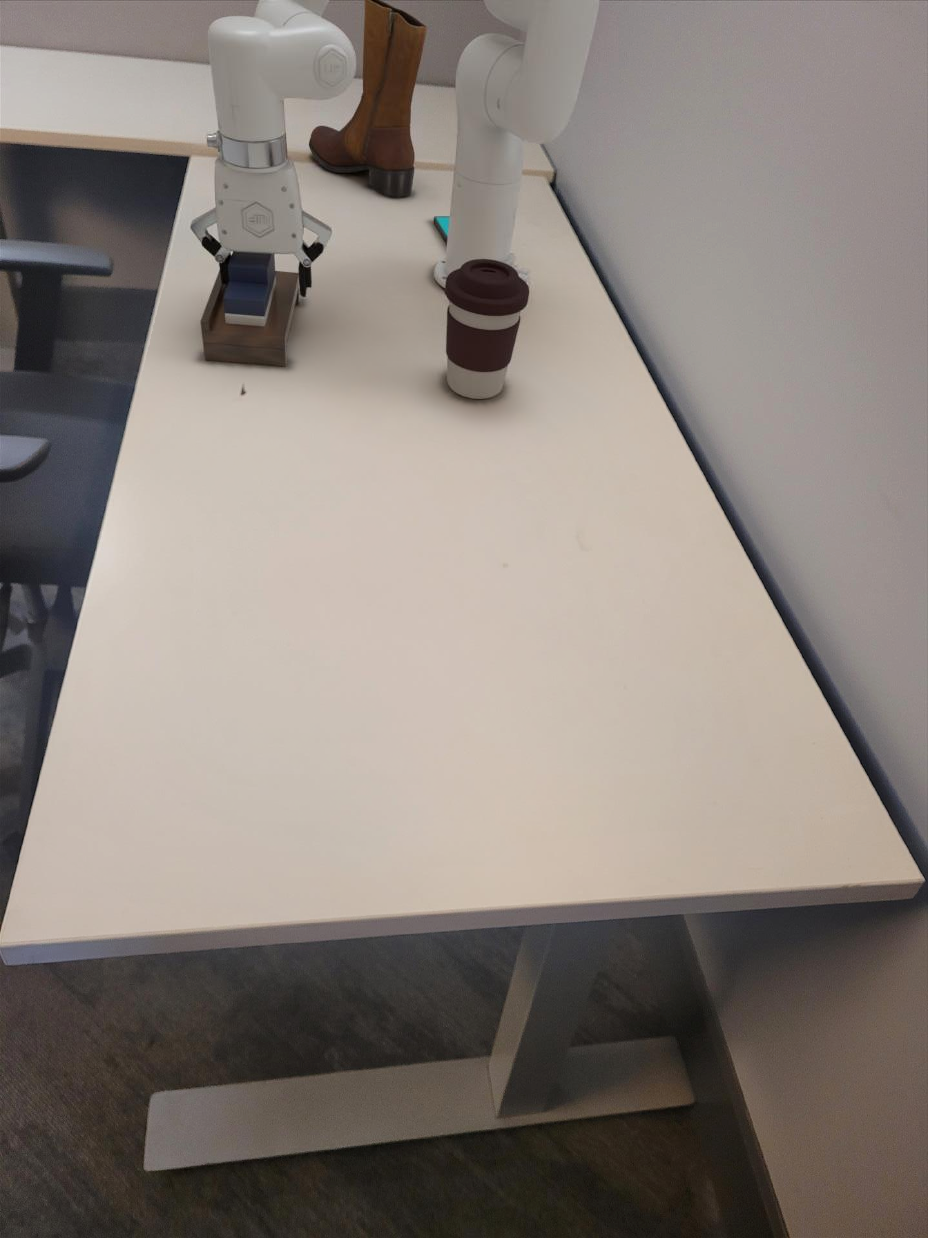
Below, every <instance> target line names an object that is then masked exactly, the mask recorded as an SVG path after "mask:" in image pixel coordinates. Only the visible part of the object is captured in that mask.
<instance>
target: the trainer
mask: <svg viewBox="0 0 928 1238" xmlns="http://www.w3.org/2000/svg"><path fill="white" fill-rule="evenodd" d="M231 255H232V256H231V259H230V261H229V264H228V272H229V284H228V287H227V290H226V293H225V295H224V307H225V322H226V324H238V325H250V326H262V327H265V324H266V320H267V316H268V312H269V309H270V305H271V301H272V297H273V293H274V289H275V285H276V275H275V271H276V259H275V257H276V256H275V254H269V253H249V252H235V251H232V253H231Z"/></svg>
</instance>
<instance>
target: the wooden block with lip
mask: <svg viewBox="0 0 928 1238" xmlns="http://www.w3.org/2000/svg"><path fill="white" fill-rule="evenodd" d="M275 275H276V285H275V289H274V293H273V297H272V301H271V305H270V309H269V312H268V316H267V320H266V324H265V327H262V326H250V325H238V324H226V322H225V307H224V295H225V293H226V290H227V287H226V284H222V282H221V275H220V269H219V270H218V273H217V275H216V279H215V281H214V283H213V286H212V288H211V291H210V294H209V297H208V300H207V303H206V305H205V308H204V311H203V313H202V316H201V319H200V330H201V338H202V346H203V355H204V361H210V362H211V361H212V362H223V363H224V362H225V363H238V364H251V365H261V366H273V367H287V363H288V355H287V343H288V338H289V333H290V329H291V324H292V320H293V315H294V310H295V306H296V305H300V302H301V296H300V286H299V272H293V271H283V270H275Z"/></svg>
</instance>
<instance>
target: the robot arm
mask: <svg viewBox="0 0 928 1238" xmlns="http://www.w3.org/2000/svg"><path fill="white" fill-rule="evenodd" d="M482 1H483V3H484V5H485V8H486V9H487V11H488V12H489V13H490V14H491V15H492V16H493V17H495V18H496V19H497V20H499V21H500V22H503V23H504V24H506V25H508V26H510V27H512V28H515V29H517V30H519V31H521V32H523V33H525V34H526V38H525V42H521V41H520V40H517V39H515V38H513V37H511V36H508V35H505V34H502V33H495V32H494V33H484V34H481V35H479V36H477V37H475V38H474V39H472V40H471V41H470V42H468V44H467V45H466V47H465V48H464V49H463V51H462V53H461V54H460V57H459V58H458V59H459V60H458V63H457V66H456V72H455V80H454V81H455V82H454V83H455V86H454V87H455V91H454V92H455V104H456V118H457V119H456V120H457V121H456V125H457V126H456V128H457V129H456V130H457V131H456V133H457V134H456V145H455V146H456V149H455V160H454V167H453V177H452V188H451V199H450V209H449V216H450V218H449V229H448V239H447V243H446V251H445V257H444V258H443V259H441V260H439V261H438V262H436V264H435V265H434V269H433V270H434V271H433V272H434V273H433V278H434V279H435V281H436V282H437V283H438V285H440V287H442V288H443V289H445V284H446V278H447V276H448V275H449V274H450V273H451V272H452V271H454V270H456V269H460V268H461V266H462V265H463V264H464V263H466V262H468V261H470V260H475V259H491V260H496V261H500V262H503V263H506V264H508V265H510V266H511V267H513V268H514V269H515V270H516V271H517V273H518V275H519V277H520V278H521V279H523V280H524V281H525V282H526V283H527V285H528V287H529V288H530V286H531V283H532V276H531V270H530V269H526V268H524V267H519V266H518V264H517V263H516V258H517V254H515V253H513V252H511V250H512V243H513V236H514V229H515V222H516V217H517V209H518V201H519V198H520V197H519V196H520V189H521V183H522V177H523V170H524V165H525V164H524V162H525V144H524V141H525V142H527V143H529V144H533V145H544V144H548V143H550V142H552V141H554V140H556V139H557V138H558V137H559V136H560V134H561V133H563V131H564V130H565V129H566V127H567V125H568V123H569V122H570V119H571V118H572V116H573V113H574V110H575V108H576V104H577V101H578V97H579V94H580V88H581V85H582V81H583V77H584V73H585V69H586V66H587V65H586V64H587V60H588V56H589V52H590V48H591V44H592V41H593V36H594V31H595V27H596V23H597V19H598V14H599V9H600V0H482ZM329 2H330V0H258V3H257V6H256V8H255V11H254V15H253V16H246V15H230V16H224V17H220V18H218V19H216V20H214V21H213V22H212V23H211V24H210V25H209V27H208V30H207V34H206V35H207V37H206V38H207V49H208V56H209V64H210V72H211V81H212V88H213V97H214V104H215V105H214V106H215V112H216V113H215V114H216V120H217V127H218V130H217V131H216V132H214V133H206V144H207V148H214V149H215V150H217V152H218V153H219V155H218V156H217V158H216V159H215V162H214V202H215V203H214V204H215V207H214V208H212V209H210V210H208V211H206V212H205V213H202V214H201V215H199V216H198V217H195V218H194V219H192V221H191V223H190V226H189V227H190V230H191V231H192V232H193V234H194V236H195V237H196V239H197V240H198V241H199V242H200V243H201V244H200V245H201V247H203V249H205V251H207V252H208V253H209V254H210V255H212V257H213V258H214V260H215V261H216V262H217V264H218V266H219V267H218V268H219V270H220V275H221V282H222V284H226V287H228V284H229V272H228V264H229V261H230V259H231V256H232V253H231V252H233V251H235V252H249V253H269V254H274V255H293V256H295V258H296V259H297V260H298V261H299V262H298V267H297V268H298V270H297V272H298V273H299V288H300V297H302V298H306V297H307V291H308V288H309V289H312V286H313V280H312V279H313V277H312V264H313V263H314V262H315V261H316V260H317V259H318V258H319V257H320V256H321V255H322V254H323V253H324V250H325V248H326V246H327V245H328V243H329V241H330V240H331V237H332V235H333V233H332V232H333V229H332V227H331V226H329V225H328V224H326V223H324V222H322V221H321V220H319V219H318V218H317V217H314V216H313V215H311V214H309V213H308V212H306V211H305V210H303V205H302V198H301V191H300V185H299V179H298V174H297V171H296V166H295V163H294V160H293V159H292V158H291V156H288V144H287V129H286V115H285V102H284V100H285V99H296V100H297V99H298V100H309V101H326V100H330V99H334V98H336V97H339V96H341V94H343V93H345V91H347V90H348V88H349V87H350V85H351V84H352V82H353V81H354V79H355V76H356V70H357V56H356V52H355V51H356V50H355V48H354V46H353V44H352V42H351V40H350V38H349V37H348V36H347V35H346V34H345V32H344V31H343V30H342V29H341V28H339V27H338V26H336V25H335V24H334V23H333V22H331V21H329V20H327V19H325V18H323V17H322V16H323V14H324V11H325V9H326V7H327V5H328V4H329ZM215 224H216V227H217V236H218V240H217V239H216V238H215V237H214V236H213V235H212V234H211V233H209V230H208V228H210V227H212V226H213V225H215ZM305 228H306V229H307V230H308V231H311V233H314V234H315V235H316V236H317V238H316V239H315V240H314V241H313V242H312V243H311V244H310V245H308V244H307V242H306V241H305V240H304V234H305V233H304V232H305Z"/></svg>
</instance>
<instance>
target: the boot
mask: <svg viewBox="0 0 928 1238" xmlns="http://www.w3.org/2000/svg"><path fill="white" fill-rule="evenodd" d="M427 29H428V27H427V26H426V25H425V24H424V23H423V22H421V21H420V20H418V19H417V18H416V17H415V16H414V15H411V14H410V13H409V12H407V11H405V10H403V9H399V8H397V7H394V6H393V5H391V4H389V3H387V2H385V1H383V0H364V22H363V51H362V52H363V53H362V93H361V96H360V101H359V103H358V106H357V107H356V110H355V111H354V113H353V116H352V117H351V118H350V120H349V121H347V123H346V124H345V126H343V127H342V128H341V129H340V130H338V129H335V128H333V127H330V126H327V125H318V126H316V127H314V128H313V130H312V131H311V133H310V138H309V141H308V147H309V150H310V153H311V154H312V156H313V158H314V159H315V160H316V161H317V162H318V163H319V164H320V165H321V166H322V167H323V168H325V169H326V170H328V171H330V172H333V173H337V174H346V173H348V174H349V173H357V172H358V173H359V172H365V171H369V187H370V188H372V189H373V190H374V191H376V192H377V193H379V194H381V195H383V196H385V197H389V198H394V199H404V198H407V197H409V196H410V195H411V194H412V189H413V183H414V177H415V176H414V175H415V166H414V165H415V148H414V145H413V141H412V134H411V121H412V120H411V119H412V102H413V95H414V91H415V88H416V87H415V86H416V81H417V78H418V74H419V73H418V72H419V69H420V64H421V60H422V56H423V55H422V54H423V50H424V46H425V41H426V35H427Z"/></svg>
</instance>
